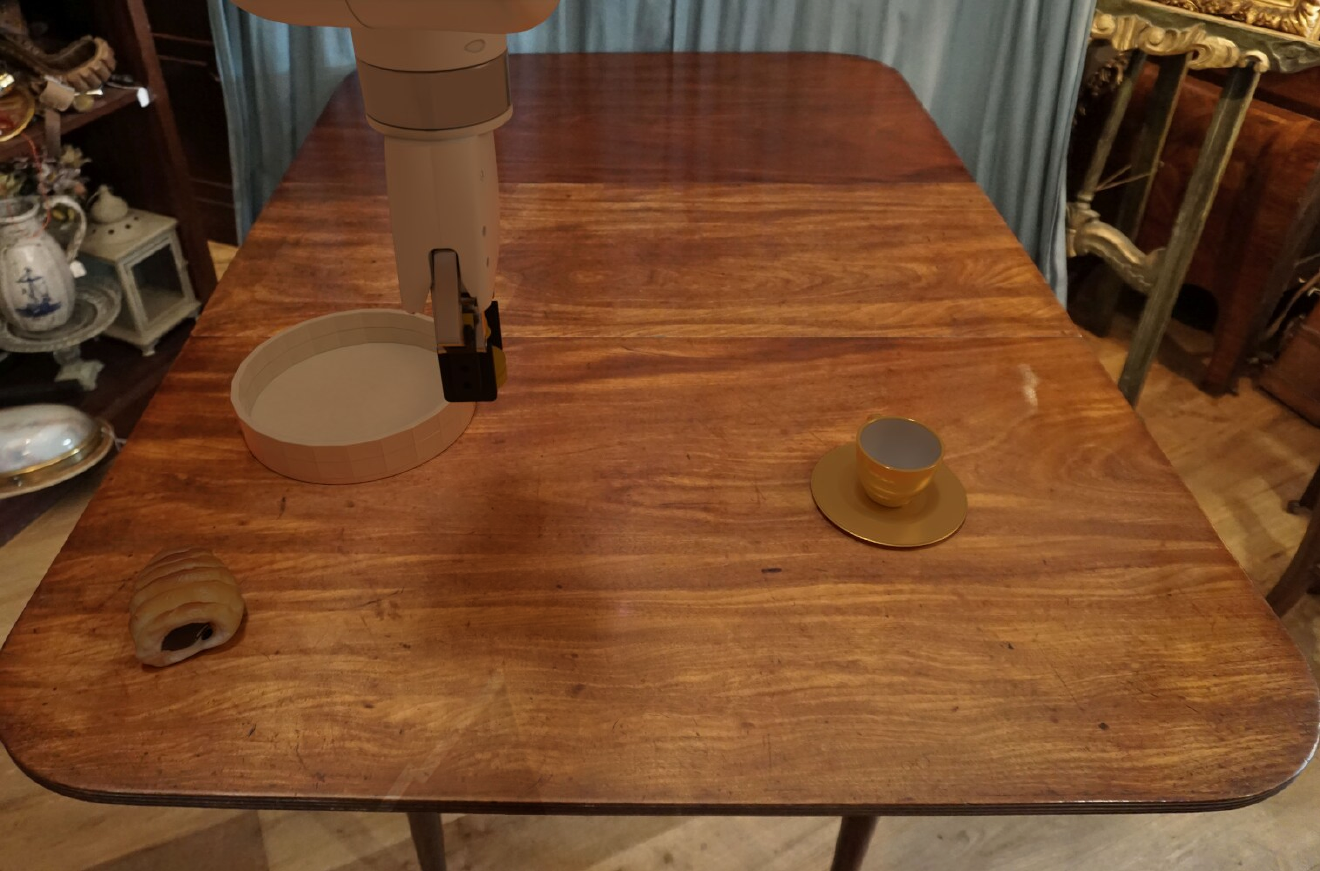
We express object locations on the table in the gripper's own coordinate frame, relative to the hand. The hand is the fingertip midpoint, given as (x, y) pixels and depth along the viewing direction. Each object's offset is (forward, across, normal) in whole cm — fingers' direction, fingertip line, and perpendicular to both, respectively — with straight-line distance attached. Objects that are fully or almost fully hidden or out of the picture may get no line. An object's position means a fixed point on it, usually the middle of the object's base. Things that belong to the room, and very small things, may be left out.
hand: (474, 374), depth 59 cm
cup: (+15, -3, +30) cm, 34 cm away
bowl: (+15, -16, -12) cm, 25 cm away
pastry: (+15, +6, -20) cm, 26 cm away
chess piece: (0, 0, 0) cm, 1 cm away
